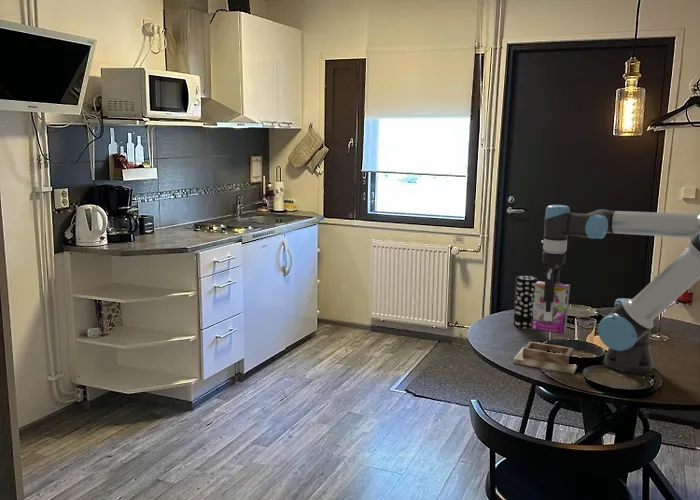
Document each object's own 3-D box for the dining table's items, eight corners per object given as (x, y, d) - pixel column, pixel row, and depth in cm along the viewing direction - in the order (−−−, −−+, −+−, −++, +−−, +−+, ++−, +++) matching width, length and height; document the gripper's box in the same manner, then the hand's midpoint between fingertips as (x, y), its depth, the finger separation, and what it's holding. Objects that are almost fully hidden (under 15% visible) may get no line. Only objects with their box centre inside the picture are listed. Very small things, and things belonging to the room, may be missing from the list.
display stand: (580, 360, 224) (581, 347, 223) (573, 373, 211) (574, 359, 211) (523, 350, 233) (523, 338, 232) (513, 362, 221) (513, 349, 220)
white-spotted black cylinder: (535, 329, 258) (538, 280, 254) (513, 327, 259) (516, 279, 256) (533, 323, 266) (536, 276, 262) (513, 321, 267) (515, 275, 264)
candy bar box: (530, 330, 220) (533, 283, 217) (533, 326, 225) (536, 280, 222) (564, 335, 215) (568, 287, 212) (566, 331, 220) (570, 284, 217)
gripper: (548, 246, 224) (544, 310, 229) (536, 254, 209) (532, 323, 213) (570, 248, 221) (565, 313, 225) (560, 257, 205) (555, 327, 210)
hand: (549, 318), depth 219 cm, fingers closed on candy bar box, 5 cm apart
